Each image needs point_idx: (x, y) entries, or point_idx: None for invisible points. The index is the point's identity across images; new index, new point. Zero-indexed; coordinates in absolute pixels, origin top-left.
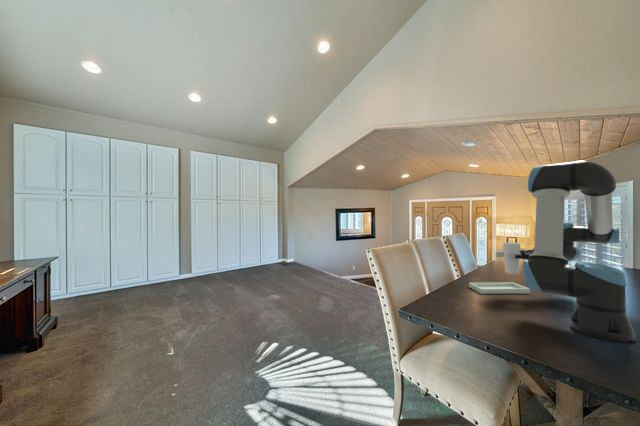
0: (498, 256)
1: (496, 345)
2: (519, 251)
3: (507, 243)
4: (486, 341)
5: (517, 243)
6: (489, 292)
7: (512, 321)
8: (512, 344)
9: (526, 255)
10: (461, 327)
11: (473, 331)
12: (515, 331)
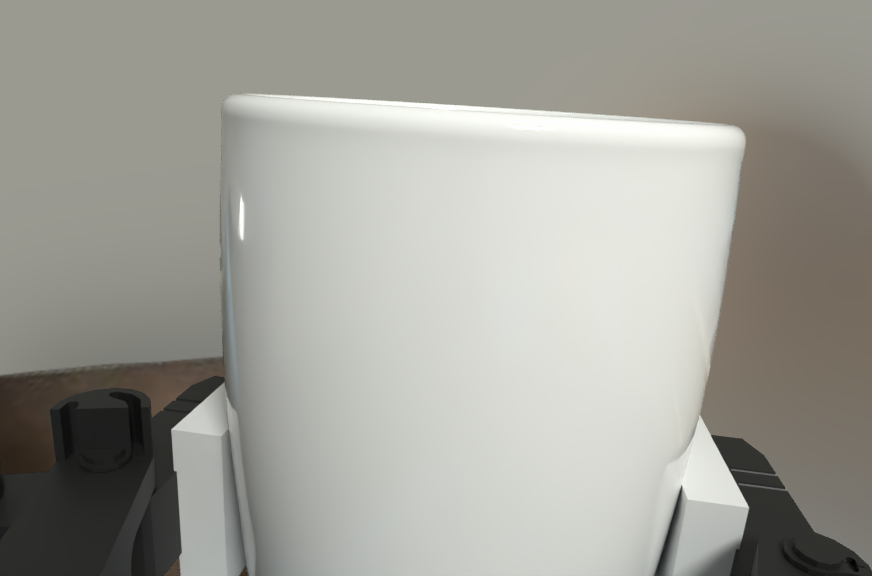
0: None
1: (74, 370)
2: (224, 374)
3: (436, 107)
4: (108, 368)
5: (427, 143)
6: None
7: None
8: (31, 394)
9: (9, 482)
10: (216, 373)
11: (171, 378)
12: (43, 454)
